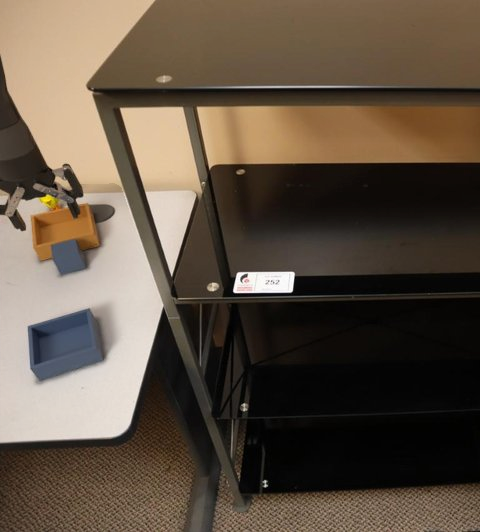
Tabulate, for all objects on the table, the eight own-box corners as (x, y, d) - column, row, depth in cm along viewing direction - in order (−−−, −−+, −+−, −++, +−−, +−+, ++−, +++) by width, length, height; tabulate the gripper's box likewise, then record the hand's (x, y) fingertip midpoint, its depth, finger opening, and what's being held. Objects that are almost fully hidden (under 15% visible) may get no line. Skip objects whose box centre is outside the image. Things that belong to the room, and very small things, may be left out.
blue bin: (36, 338, 90) (27, 326, 87) (96, 320, 94) (89, 307, 91) (39, 381, 84) (30, 369, 82) (103, 360, 88) (96, 347, 85)
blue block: (59, 260, 103) (50, 244, 100) (83, 254, 105) (75, 238, 102) (61, 275, 101) (52, 259, 97) (86, 268, 102) (77, 252, 99)
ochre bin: (37, 228, 109) (30, 215, 107) (93, 215, 113) (87, 202, 111) (40, 260, 103) (33, 247, 100) (100, 245, 107) (94, 233, 104)
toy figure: (49, 200, 116) (25, 155, 107) (67, 198, 117) (45, 153, 108) (44, 219, 111) (20, 173, 103) (63, 217, 112) (40, 171, 104)
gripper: (56, 126, 88) (90, 201, 100) (-44, 143, 83) (5, 220, 94) (59, 148, 84) (95, 223, 95) (-46, 167, 78) (5, 245, 90)
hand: (50, 222), depth 95 cm, fingers open, 8 cm apart
